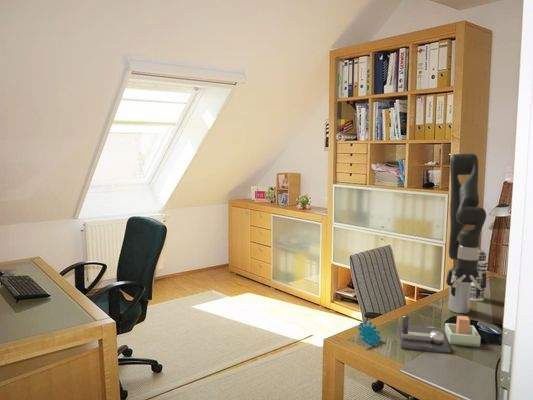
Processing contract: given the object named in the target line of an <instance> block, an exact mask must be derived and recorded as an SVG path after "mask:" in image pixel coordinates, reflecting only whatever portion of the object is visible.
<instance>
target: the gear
mask: <svg viewBox="0 0 533 400" xmlns="http://www.w3.org/2000/svg"><path fill="white" fill-rule="evenodd" d="M372 325H373V323H372V322H371V321H367V320H363V321H362V322H359V326H358V327H357V330H358V331H360V332H358V336H360V338H361V341H362V342H365V341H366V340H367V341H366V344H367V346H370V345H371V346H374V347H375V346H376V345H379V343H380V340H381V338H382V337H381V336H380V334H381V333H382V330H381V329H378V330H377V326H376V325H373V326H372ZM371 326H372V327H371Z"/></svg>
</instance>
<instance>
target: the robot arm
mask: <svg viewBox="0 0 533 400" xmlns="http://www.w3.org/2000/svg"><path fill="white" fill-rule="evenodd" d="M449 160H450V161H449V166H450V167H449V168H450V169H449V170H450V171H449V172H450V202H449V203H450V204H449V205H450V207H449V208H450V209H449V211H450V212H449V213H450V214H449V216H450V218H449V220H450V223H449V224H450V227H449V228H450V230H449V243H448V257H449V258H450V260H453V261H454V260H455V261H456V266H453V267H451V268H450V269H448V270H447V273H446V282H445V283H446V284H447V286H449V291H448V292H449V293H448V305H447V306H448V307H447V308H448V310H450V311H451V312H454V313H458V314H468V313H469V312H470V307H471V306H470V305H471V304H470V303H471V300H470V295H471V282H473V283H474V284H475V286H476V288H475V297H476V298H478V297H480V290H481V288H484V289H486V288H487V273H486V274H485V273H484V272H478V271H477V270H478V258H479V250H480V249H479V246H480V245H479V244H480V236H481V232H482V229H483V227H484V224H485V222H486V219H487V212H486V210H485V209H484V208H483V207H481V206H480V207H479V204H480V198H479V191H478V190H479V189H478V187H479V185H478V184H479V158H478V156H477V155H476V154H475V153H457V154H456V153H455V154H452V155H451V156H450V159H449ZM459 176H468V177H467V179H465V181H464V182H463V183H462V184H461V182H460V179H459ZM466 226H473V227H472V228H471V229H464V228H465V227H466ZM463 229H464V230H463ZM458 237H459V240H458ZM478 275H479V276H480V278H481V284H478V283H477V281H476V280H475V279H476V278H477V277H478Z"/></svg>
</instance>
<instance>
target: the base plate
mask: <svg viewBox="0 0 533 400" xmlns="http://www.w3.org/2000/svg"><path fill="white" fill-rule="evenodd" d="M395 325H396V326H395V327H396V333H397V337H398V343H399V347H400V349H407V350H415V351H416V350H417V351H426V352H435V353H446V354H451V351H452V350H451V348H450V345H449V342H448V339H447V337H446V335H444V342H443V343H442V344H436V343H433V342H431V341H430V340H420V339H410V338H402V325H403V323H402V324H401V323H396V324H395ZM431 331H439V332H442V333H443V334H444V331H443V330H442V328H441V327H434V326H424V325H413V324H408V332H418V333H428V334H430V332H431Z"/></svg>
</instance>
